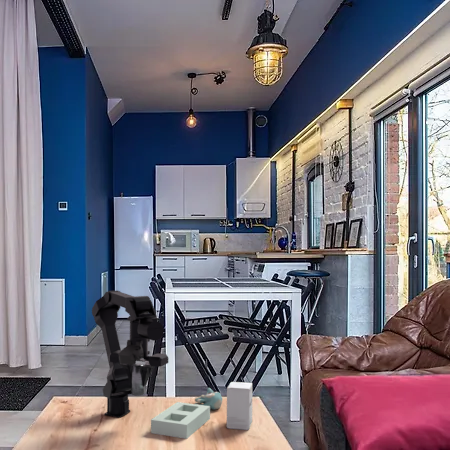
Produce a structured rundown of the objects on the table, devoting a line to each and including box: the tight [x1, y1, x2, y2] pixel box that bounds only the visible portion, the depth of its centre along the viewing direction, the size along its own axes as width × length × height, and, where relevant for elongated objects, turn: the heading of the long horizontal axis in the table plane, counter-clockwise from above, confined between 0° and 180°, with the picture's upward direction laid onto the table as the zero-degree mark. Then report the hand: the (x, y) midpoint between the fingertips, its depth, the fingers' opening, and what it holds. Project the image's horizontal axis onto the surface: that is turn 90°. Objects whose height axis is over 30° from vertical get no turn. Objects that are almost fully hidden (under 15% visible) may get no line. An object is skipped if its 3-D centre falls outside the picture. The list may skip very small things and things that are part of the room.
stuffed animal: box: [194, 387, 223, 411], centre depth 171 cm, size 11×7×12 cm
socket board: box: [150, 401, 211, 440], centre depth 152 cm, size 12×18×4 cm, turn 159°
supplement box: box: [226, 381, 253, 431], centre depth 153 cm, size 7×7×13 cm
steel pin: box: [131, 363, 146, 397], centre depth 153 cm, size 4×4×9 cm
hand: (138, 385), depth 153 cm, fingers closed on steel pin, 4 cm apart
